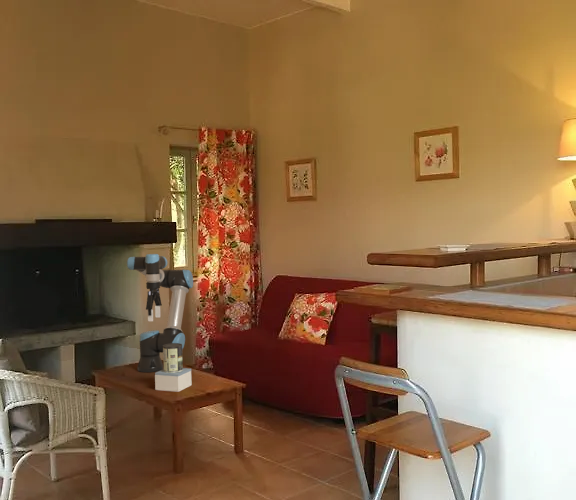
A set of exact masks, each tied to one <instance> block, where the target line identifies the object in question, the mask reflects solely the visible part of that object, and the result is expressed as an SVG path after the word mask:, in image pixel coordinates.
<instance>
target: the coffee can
mask: <svg viewBox="0 0 576 500" xmlns="http://www.w3.org/2000/svg"><path fill="white" fill-rule="evenodd" d="M162 355H163V357H162V359H163V369H164V372H166V373H177V372H181V371H183V368H184V366H183V363H184V362H183V349H182V344H180V343H170V344H165V345H163V353H162Z"/></svg>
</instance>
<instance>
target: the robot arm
mask: <svg viewBox="0 0 576 500" xmlns="http://www.w3.org/2000/svg"><path fill="white" fill-rule="evenodd" d="M126 266H127V269H129V270H130V271H137V272H139V273H141V274H142V275H144V277H145V280H146V283H145V284H146V285H145V286H146V289H147V290H149V291H147V297H146V307H145V310H147V321H148V322H154V317H155V318H161V307H162V300H161V295H160V288H163V289H170V291H171V296H170V304H169V310H168V317H167V324H166V327H165V328H163V332H160V330H159V329H158V330H157V329H156V330H149V331H144V332H141V333H140V335H139V340H138V342H139V360H138V364H137V371H138V372H140V373H152V372H153V373H154V372H155V373H156V372H159V371H161V370H163V369H164V363H163V361H162V359H161V355H160V354H161V353H162V354H163V345H165V344H170V343H180V344H182V350H184V347H185V344H186V343H185V342H186V336H185V334H184V331H183V330H182V324H183V316H184V311H185V309H184V308H185V303H186V296H187V294H188V293H189V292H190V289H192V288H193V287H194V277H193V273H192V271H191V270H189V269H165V268H167V266H168V259H167V258H166V256H164V255H163V256H162V255H159V254H158V253H147V254H145V256H130V257H128V258H127V261H126ZM153 305H155V306H154V309H153ZM154 313H155V315H154Z"/></svg>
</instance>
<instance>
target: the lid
mask: <svg viewBox="0 0 576 500" xmlns="http://www.w3.org/2000/svg"><path fill="white" fill-rule="evenodd" d="M189 371H191V372H192V368H187V367H183V371H181V372H177V373H166V372H164V368H163V369H162V370H160V371H155V373H154V374H155V375H165V376H180V375H183V374H185V373H187V372H189ZM155 375H154V376H155Z"/></svg>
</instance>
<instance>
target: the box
mask: <svg viewBox="0 0 576 500" xmlns="http://www.w3.org/2000/svg"><path fill="white" fill-rule="evenodd" d="M154 382H155V383H154V385H155V386H154V387H155V388H154V389H155V390H156V391H165V392H181V391H183V390H185V389H186V388H189V387H191V386H192V370H191V371H189V372H187V373H185V374H183V375H180V376H165V375H154ZM155 390H154V391H155Z"/></svg>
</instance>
